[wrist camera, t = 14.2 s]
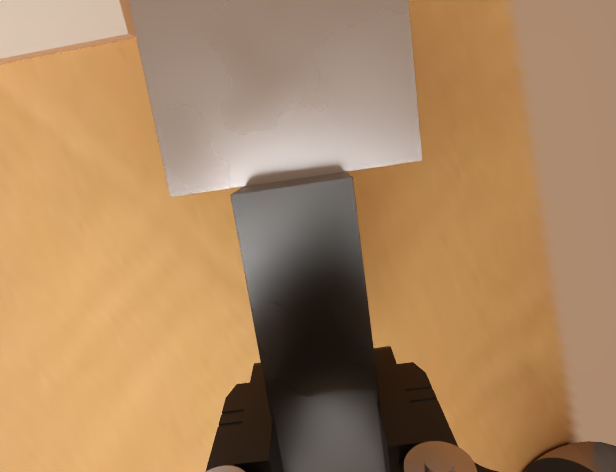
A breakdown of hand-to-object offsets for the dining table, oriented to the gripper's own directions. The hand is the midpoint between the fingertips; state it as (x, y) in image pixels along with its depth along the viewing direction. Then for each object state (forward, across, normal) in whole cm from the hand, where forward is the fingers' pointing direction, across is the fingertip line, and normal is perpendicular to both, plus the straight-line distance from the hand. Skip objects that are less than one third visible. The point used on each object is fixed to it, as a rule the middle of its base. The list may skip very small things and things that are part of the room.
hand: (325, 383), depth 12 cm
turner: (+1, 0, -3) cm, 3 cm away
